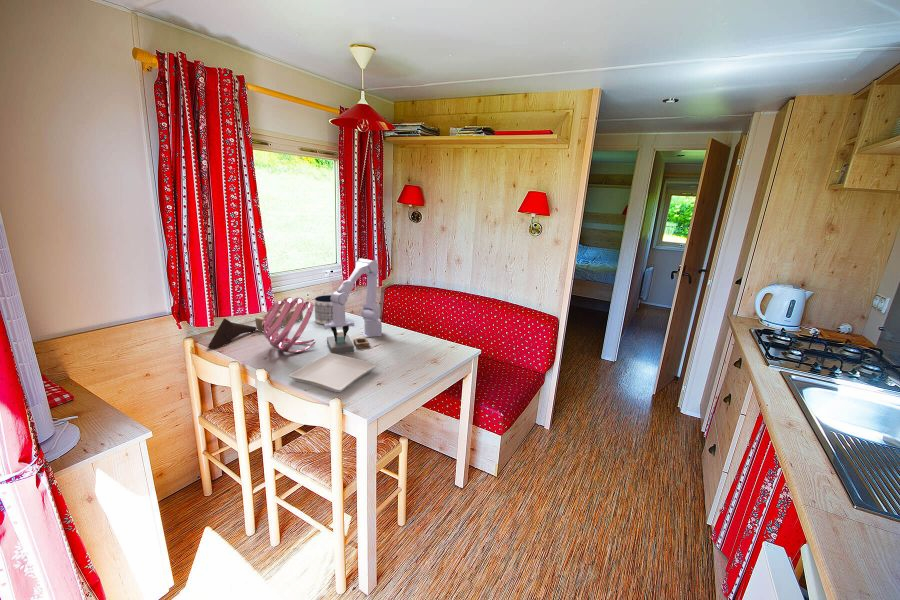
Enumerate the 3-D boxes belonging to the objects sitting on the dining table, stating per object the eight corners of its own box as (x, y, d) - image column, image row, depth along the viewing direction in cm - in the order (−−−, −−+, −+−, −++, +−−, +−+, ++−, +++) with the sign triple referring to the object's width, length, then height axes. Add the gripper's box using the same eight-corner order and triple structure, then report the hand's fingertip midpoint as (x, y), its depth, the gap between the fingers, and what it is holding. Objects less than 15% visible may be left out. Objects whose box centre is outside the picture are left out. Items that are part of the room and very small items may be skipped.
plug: (342, 344, 201) (342, 329, 199) (344, 347, 197) (344, 332, 195) (336, 344, 200) (335, 330, 197) (337, 348, 196) (337, 333, 193)
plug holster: (365, 341, 208) (365, 337, 207) (369, 347, 201) (369, 342, 201) (353, 343, 205) (353, 338, 205) (356, 348, 199) (356, 344, 198)
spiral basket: (334, 304, 206) (287, 277, 193) (332, 333, 182) (278, 306, 169) (305, 339, 213) (258, 316, 200) (300, 372, 189) (245, 349, 176)
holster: (242, 354, 211) (204, 346, 187) (252, 326, 214) (216, 314, 191) (249, 356, 209) (212, 348, 186) (259, 327, 213) (224, 316, 190)
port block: (347, 340, 208) (347, 334, 207) (353, 352, 194) (353, 345, 193) (326, 343, 203) (326, 336, 202) (331, 354, 189) (331, 348, 188)
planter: (347, 319, 242) (346, 297, 238) (329, 326, 228) (329, 303, 224) (327, 315, 248) (326, 293, 244) (309, 321, 234) (308, 299, 230)
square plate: (330, 359, 186) (329, 351, 185) (377, 371, 176) (378, 363, 175) (287, 382, 162) (286, 374, 161) (340, 398, 152) (340, 389, 151)
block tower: (266, 334, 213) (305, 319, 239) (264, 320, 211) (304, 306, 236) (256, 331, 216) (296, 316, 242) (254, 317, 214) (295, 304, 239)
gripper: (325, 318, 187) (326, 344, 191) (355, 316, 193) (355, 341, 197) (323, 314, 194) (324, 339, 197) (352, 312, 200) (352, 336, 203)
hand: (339, 340), depth 198 cm, fingers closed on plug, 3 cm apart
